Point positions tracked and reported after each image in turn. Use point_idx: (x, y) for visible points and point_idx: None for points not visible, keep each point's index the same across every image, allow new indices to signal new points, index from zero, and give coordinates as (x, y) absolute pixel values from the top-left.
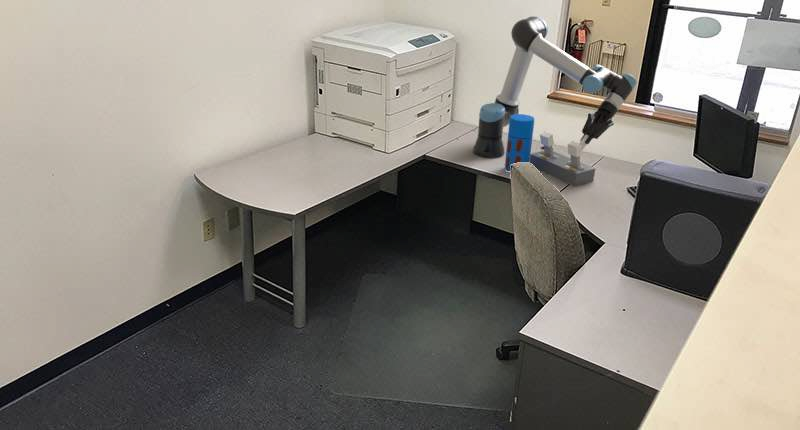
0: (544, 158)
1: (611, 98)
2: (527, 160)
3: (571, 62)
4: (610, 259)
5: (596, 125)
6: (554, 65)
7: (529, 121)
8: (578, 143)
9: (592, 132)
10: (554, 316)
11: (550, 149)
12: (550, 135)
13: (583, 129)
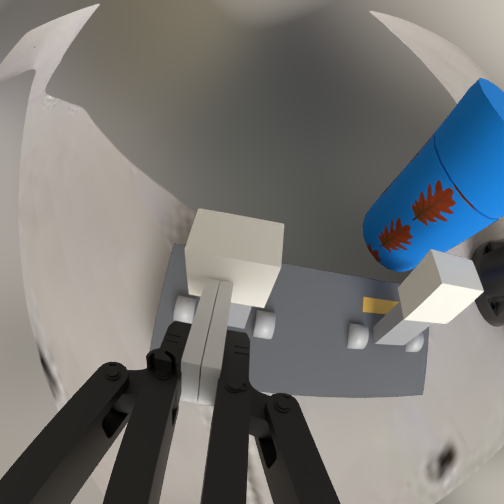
0: (374, 291)
1: None
2: (385, 212)
3: None
4: (40, 76)
5: (135, 494)
6: None
7: (480, 91)
8: (212, 251)
9: (148, 399)
10: (85, 14)
11: (392, 314)
12: (440, 270)
13: (292, 419)
